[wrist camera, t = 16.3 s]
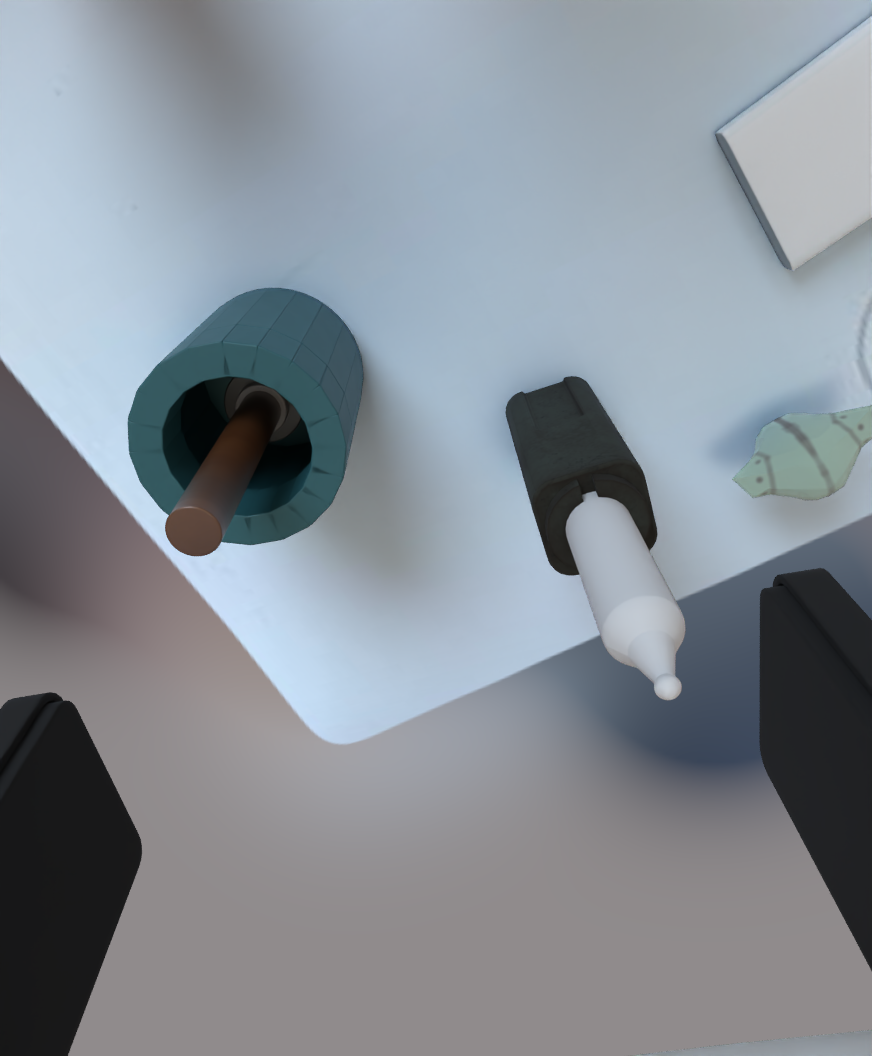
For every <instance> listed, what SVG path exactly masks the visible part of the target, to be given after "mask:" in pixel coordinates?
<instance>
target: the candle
mask: <svg viewBox="0 0 872 1056" xmlns="http://www.w3.org/2000/svg"><path fill="white" fill-rule="evenodd" d="M506 417H507V421H508V424H509V428H510V431H511V435H512V439H513V442H514V446H515V449H516V453H517V456H518V460H519V463H520V467H521V470H522V474H523V478H524V481H525V485H526V488H527V492H528V495H529V499H530V502H531V506H532V510H533V513H534V516H535V519H536V522H537V526H538V529H539V532H540V535H541V539H542V542H543V545H544V548H545V551H546V555H547V558H548V561H549V563H550V565H551V566H552V567H553V568H554V569H555V570H556V571H558V572H559V573H561V574H565V575H579V574H580V577H581V580H582V583H583V586H584V589H585V592H586V595H587V597H588V600H589V603H590V606H591V609H592V612H593V615H594V618H595V621H596V624H597V626H598V629H599V632H600V635H601V638H602V641H603V643H604V645H605V647H606V649H607V651H608V652H609V653H610V654H611V655H612V656H613V657H614V659H616V660H618V661H619V662H621V663H623V664H626V665H629V666H633V667H636V668H638V669H639V670H640V671H641V672H642V673H643V674H645V675H646V676H647V677H648V678H649V679H650V680H651V681H652V682H653V683H654V690H655V693H656V695H657V696H658V697H660V698H661V699H664V700H672V699H674V698H676V697H677V696H678V695H679V694H680V692H681V688H682V687H681V683H680V681H679V679H678V678H677V677H675V653H676V652H677V650H678V648H679V647H680V645H681V643H682V641H683V639H684V635H685V620H684V617H683V615H682V613H681V610H680V608H679V606H678V604H677V603H676V601H675V599H674V597H673V595H672V593H671V591H670V589H669V587H668V585H667V583H666V582H665V580H664V578H663V576H662V574H661V572H660V570H659V568H658V566H657V564H656V563H655V561H654V559H653V557H652V555H651V553H650V551H649V550H650V549H651V548H652V547H653V545H654V544H655V542H656V538H657V527H656V522H655V518H654V514H653V510H652V505H651V501H650V497H649V493H648V488H647V484H646V480H645V476H644V473H643V471H642V469H641V467H640V466H639V464H638V463H637V461H636V459H635V458H634V456H633V455H632V453H631V451H630V450H629V448H628V447H627V445H626V443H625V442H624V440H623V439H622V437H621V435H620V434H619V432H618V431H617V429H616V427H615V426H614V424H613V423H612V421H611V419H610V418H609V416H608V415H607V413H606V411H605V410H604V408H603V407H602V405H601V403H600V402H599V400H598V399H597V397H596V395H595V394H594V392H593V391H592V389H591V388H590V386H589V385H588V383H587V382H586V381H585V380H583V379H582V378H579V377H573V376H571V377H566V378H564V380H563V382H560V383H557V384H554V385H551V386H548V387H545V388H542V389H539V390H535V391H532V392H529V393H526V394H525V393H523V392H520V393H518V394H515V395H514V396H513V397H512V398H511V399H510V400H509V402H508V404H507V406H506Z"/></svg>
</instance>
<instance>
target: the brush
mask: <svg viewBox="0 0 872 1056" xmlns="http://www.w3.org/2000/svg"><path fill="white" fill-rule="evenodd" d="M224 407H225V411H226V414H227V417H228V419H229V422H228V424H227V426H226V427H225V429H224V430H223V432H222V433H221V435H220V437H219V438H218V440H217V441H216V443H215V444H214V446H213V448H212V449H211V451H210V452H209V454H208V455H207V457H206V458H205V460H204V462H203V463H202V465H201V466H200V468H199V469H198V471H197V473H196V474H195V476H194V477H193V479H192V480H191V482H190V484H189V485H188V487H187V488H186V490H185V491H184V493H183V495H182V496H181V498H180V499H179V501H178V502H177V504H176V506H175V507H174V509H173V510H172V512H171V513H170V515H169V517H168V518H167V521H166V525H165V531H166V535H167V538H168V540H169V541H170V543H171V544H172V545H173V546H174V547H175V548H176V549H177V550H178V551H180V552H182V553H184V554H187V555H190V556H204V555H207V554H210V553H212V552H213V551H215V550H216V549H217V548H218V546H219V545H220V543H221V541H222V539H223V537H224V535H225V533H226V531H227V529H228V527H229V524H230V522H231V520H232V518H233V516H234V514H235V512H236V510H237V508H238V505H239V503H240V501H241V499H242V497H243V495H244V493H245V491H246V489H247V486H248V484H249V482H250V480H251V478H252V476H253V474H254V472H255V470H256V467H257V465H258V463H259V461H260V459H261V457H262V455H263V453H264V451H265V449H266V446H267V444H268V442H275V441H279V440H281V439H284V438H286V437H287V436H289V435H290V434H292V433H293V432H294V431H295V429H296V428H297V427H298V425H299V423H300V421H301V419H302V418H301V416H300V415H299V413H298V412H297V410H296V409H295V407H294V406H293V405H292V404H291V403H290V402H289V401H288V400H286V399H285V398H284V397H283V396H282V395H280V394H279V393H278V392H277V391H276V390H274V389H272V388H270V387H267V386H265V385H263V384H260V383H258V382H256V381H254V380H251V379H244V378H236V377H233V378H232V380H231V381H230V382H229V384H228V386H227V388H226V391H225V395H224Z"/></svg>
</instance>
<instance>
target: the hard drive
mask: <svg viewBox="0 0 872 1056" xmlns="http://www.w3.org/2000/svg"><path fill="white" fill-rule="evenodd" d="M715 136H716V138H717V141H718V143H719V145H720V147H721V148H722V150H723V152H724V154H725V156H726V158H727V160H728V162H729V164H730V166H731V168H732V170H733V172H734V173H735V175H736V177H737V179H738V181H739V183H740V185H741V187H742V189H743V191H744V192H745V194H746V196H747V198H748V200H749V202H750V204H751V206H752V208H753V210H754V212H755V214H756V216H757V217H758V219H759V221H760V223H761V225H762V227H763V229H764V231H765V233H766V235H767V236H768V238H769V240H770V242H771V244H772V246H773V248H774V250H775V252H776V254H777V256H778V258H779V260H780V261H781V263H782V264H783V266H784V267H785V268H787V269H789V270H792V271H794V270H796V269H797V268H799V267H800V266H801V265H803V264H804V263H806V262H807V261H809V260H810V259H812V258H813V257H815V256H816V255H818V254H819V253H821V252H822V251H824V250H825V249H826V248H828V247H829V246H831V245H832V244H834V243H835V242H837V241H838V240H840V239H841V238H843V237H844V236H846V235H847V234H848V233H850V232H851V231H853V230H854V229H856V228H857V227H859V226H860V225H862V224H863V223H865V222H866V221H868V220H869V219H871V218H872V16H871V17H869V18H868V19H867V20H865V21H864V22H863V23H861V24H860V25H859V26H857V27H856V28H855V29H853V30H852V31H851V32H849V33H848V34H847V35H845V36H844V37H842V38H841V39H840V40H838V41H837V42H836V43H834V44H833V45H832V46H831V47H829V48H828V49H827V50H825V51H824V52H823V53H821V54H820V55H819V56H817V57H816V58H815V59H813V60H812V61H811V62H809V63H808V64H807V65H805V66H804V67H803V68H801V69H800V70H798V71H797V72H796V73H795V74H793V75H792V76H791V77H789V78H788V79H787V80H785V81H784V82H783V83H781V84H780V85H779V86H777V87H776V88H775V89H773V90H772V91H771V92H769V93H768V94H766V95H765V96H764V97H762V98H761V99H760V100H758V101H757V102H756V103H754V104H753V105H752V106H750V107H749V108H747V109H746V110H745V111H743V112H742V113H741V114H739V115H738V116H737V117H735V118H734V119H733V120H731V121H730V122H729V123H727V124H726V125H725V126H723V127H722V128H721V129H719V130H718V131H717V132H716V133H715Z"/></svg>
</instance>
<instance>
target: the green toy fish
mask: <svg viewBox="0 0 872 1056" xmlns="http://www.w3.org/2000/svg"><path fill="white" fill-rule="evenodd" d="M871 439H872V405H870V406H865V407H861V408H856V409H851V410H846V411H841V412H837V413H828V414H808V413H788V414H786V415H784V416H782V417H780V418H777V419H775V420H774V421H772V422H771V423H769V424H767V425H766V426H764V427H763V428H762V429H761V431H760V433H759V434H758V436H757V438H756V442H755V452H754V454H753V456H752V458H751V459H750V461H749V462H748V463H747V464H746V465H745V466H744V467H743V468H742V469H741V471H740V472H739V473H738V474H737V475H736V476H735V477H734V478H733V480H734V481H735V482H736V483H737V484H738V485H739V486H740V487H741V488H742V489H743V490H745V491H746V492H747V493H748V494H749V495H750V496H751V497H752V498H755V497H760V496H765V495H770V494H771V495H780V496H788V497H794V498H798V499H803V500H818V499H821V498H824V497H827V496H830V495H831V494H833V493H834V492H836V491H837V490H839V489H840V488H842V487H843V486H844V485H845V483H846V481H847V479H848V477H849V475H850V472H851V470H852V468H853V466H854V464H855V461H856V459H857V457H858V454H859V452H860V450H861V448H862V447H863V446H864V445H865V444H866V443H867V442H868V441H870V440H871Z"/></svg>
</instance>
